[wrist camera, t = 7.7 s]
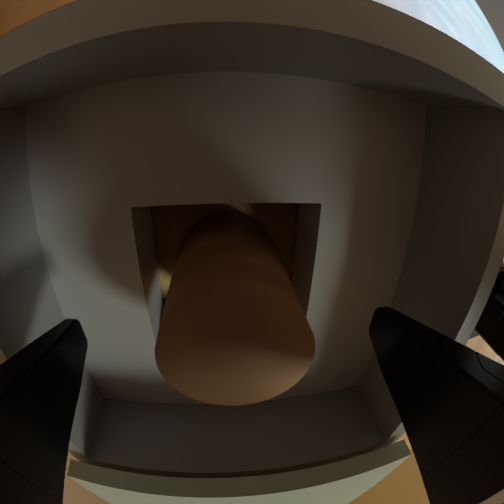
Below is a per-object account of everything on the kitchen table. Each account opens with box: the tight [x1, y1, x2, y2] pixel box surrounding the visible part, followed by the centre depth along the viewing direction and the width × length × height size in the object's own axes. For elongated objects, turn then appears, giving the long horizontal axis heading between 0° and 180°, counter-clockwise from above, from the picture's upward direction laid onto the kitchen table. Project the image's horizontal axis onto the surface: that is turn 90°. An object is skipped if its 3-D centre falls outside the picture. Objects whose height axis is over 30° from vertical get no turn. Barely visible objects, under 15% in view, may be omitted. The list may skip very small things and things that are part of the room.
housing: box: [0, 0, 504, 478], centre depth 9 cm, size 16×16×6 cm
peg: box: [155, 211, 315, 406], centre depth 9 cm, size 4×4×6 cm
